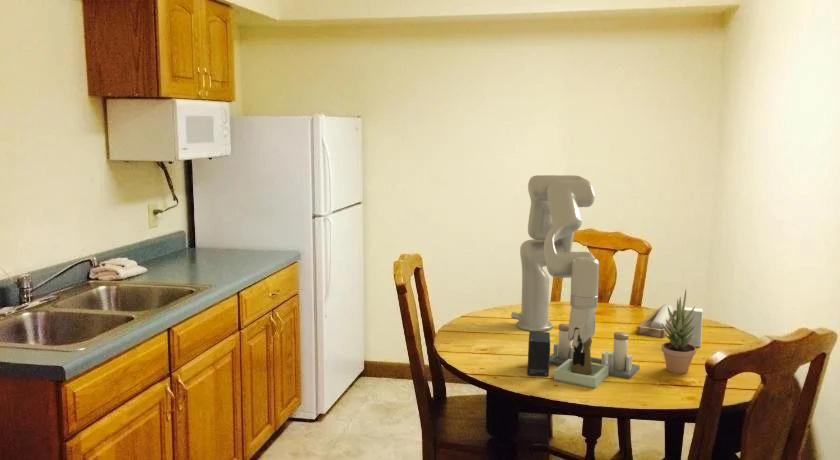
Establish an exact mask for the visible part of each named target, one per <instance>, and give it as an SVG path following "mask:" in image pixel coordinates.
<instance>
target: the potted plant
mask: <svg viewBox="0 0 840 460" xmlns="http://www.w3.org/2000/svg"><path fill="white" fill-rule="evenodd" d="M686 299H687V289H684V297H683V302H682V297H681V296H680V297H679V299H678V298H677V300H676V310H677V311H676V320H675V318H674V317H673V315H672V313H671V311H670V309H669V307H668V312H669V316H670V318H671V319H670V321H671V322H672V325H673V326H672V325H671V324H670V323H669V322H670V321H669V322H668V321H667V320H666V322H667V324H668V326H669V327H668V326H667V325H666V327H667V328H668V330H669V331H670V332H669V331H668V330H667V329H666V328H665V326H664V325H663V324H662V326H663V327H664V329H665V331H666V332H667V333H668V334H667V335H666V334H664V335H665V337H666V338H667V339H668V340H669V341H666V342H663V343H662V344H661V351H662V353H663V357H664V362H665V366H666V368H665V369H666V370H667V371H668V372H671V373H675V374H685V373H688V372H689V370H690V366H691V363H692V361H693V357H694V356H695V355H696V353H697V348H696V347H695V346H693V345H691V344H688V343H689V341H690V340H691V338H690V337H691V336H692V335H693V334H692V335H690V336H689V337H688V338H686V337H687V335H688V334H689V333H690V332H691V331H692V330H693V329H694V327H695V326H693V327H692V328H691V326H692V325H691V326H690V327H689V325H690V324H691V322H692V320H693V319H694V317H693V318H692V319H691V320H690V321H689V322H688V323H687V321H688V320H689V318H690V316H691V314H692V313H693V311H694V308H696V307H695V306H694V307H692V308H693V309H692V310H691V312H690V313H689V314H688V316H687V317H686V318H685V313H686V310H685V311H684V309H685V307H686V301H687V300H686ZM686 323H687V324H686ZM685 324H686V325H685ZM688 327H689V328H688ZM687 328H688V329H687ZM690 328H691V329H690ZM689 329H690V330H689ZM688 331H689V332H688ZM685 338H686V339H685ZM689 338H690V339H689ZM688 339H689V340H688Z"/></svg>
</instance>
